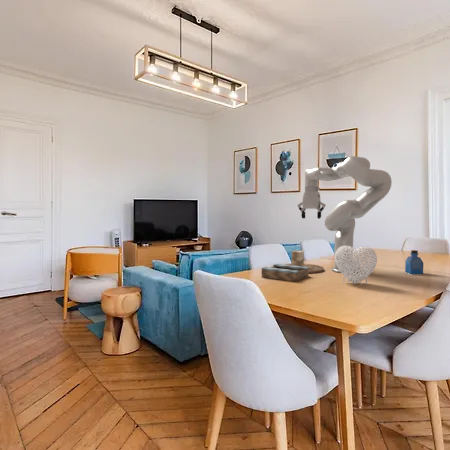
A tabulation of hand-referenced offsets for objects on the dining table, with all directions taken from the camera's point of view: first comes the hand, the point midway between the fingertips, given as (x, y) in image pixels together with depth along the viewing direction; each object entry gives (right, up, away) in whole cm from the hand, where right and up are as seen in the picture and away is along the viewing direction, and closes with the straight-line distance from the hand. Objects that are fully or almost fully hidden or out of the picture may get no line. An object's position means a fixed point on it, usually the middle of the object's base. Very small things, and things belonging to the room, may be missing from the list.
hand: (311, 218), depth 200 cm
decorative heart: (+7, -31, -49) cm, 58 cm away
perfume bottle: (+47, -30, -26) cm, 61 cm away
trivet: (-9, -30, -13) cm, 34 cm away
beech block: (-11, -28, -13) cm, 32 cm away
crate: (-22, -30, -32) cm, 49 cm away
